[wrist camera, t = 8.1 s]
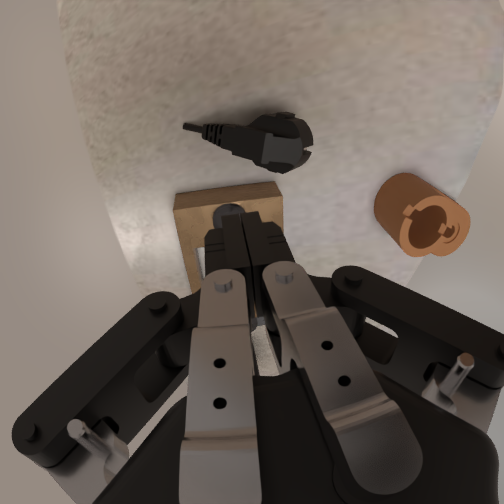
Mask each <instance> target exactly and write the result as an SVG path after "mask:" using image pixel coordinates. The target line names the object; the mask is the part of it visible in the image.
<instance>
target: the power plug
mask: <svg viewBox="0 0 504 504" xmlns="http://www.w3.org/2000/svg"><path fill="white" fill-rule="evenodd" d="M294 117H295V114H293V113H289V112H279V113H275V114H264V115H262V116H260V117H258V118H257V119H255V120H254V121H253V122H252V123H251V124H249V125H248V126H241V125H235V124H204V125H203V127H202V126H197V125H192V124H187V123H185V124H184V125H183V129H185V130H189V131H193V132H198V133H202V138H203V139H204V140H208V141H209V142H212V143H213V144H216V145H217V146H219V147H221V148H223V149H226V150H230V151H232V154H233V155H236V156H239V157H242V158H246V159H249V160H252V161H253V162H254V164H255V165H256V166H260V167H263V168H266V169H267V170H268V171H272V172H275V173H277V172H278V173H281V174H284V173H287V172H289V171H291V170H293V169H295V168H297V167H300V166H301V165H303V164H304V163H305V162H306V161H307V160H308V159H309V157H310V155H311V153H312V152H310V151H307V147H309V146H312V145H313V136H312V132H311V130H310V128H309V126H308V125H307V123H306V122H305V121H304V120H302V119H298V118H294Z"/></svg>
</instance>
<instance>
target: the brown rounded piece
mask: <svg viewBox="0 0 504 504" xmlns="http://www.w3.org/2000/svg"><path fill="white" fill-rule="evenodd" d="M374 214H375V217H376V219H377V221H378V222H379V223H380V225H381V226H382V227H383V228H384V229H385V230H386V231H387V232H388V234H389V235H390V236H391V237H392V238H393V239H394V240H395V242H396V243H397V244H398V245H399V246H400V247H401V249H402V250H403V251H404V252H405V253H406V254H407V255H409V256H412V257H421V256H425V255H427V254H429V253H432V254H434V255H436V256H446V255H448V254H450V253H452V252H454V251H455V250H456V249H457V248H458V247H459V246H460V245H461V244H462V243H463V241H464V240H465V238H466V236H467V234H468V232H469V228H470V216H469V214H468V212H467V211H466V210H465V209H464V208H463V207H461V206H460V205H459V204H458V203H456V202H455V201H454V200H452V199H451V198H449V197H448V196H446V195H445V194H443V193H442V192H440V191H439V190H437V189H436V188H434V187H433V186H431V185H430V184H428V183H427V182H425V181H423V180H422V179H420V178H419V177H417V176H415V175H413V174H411V173H401V174H397V175H395V176H393V177H391V178H390V179H388V180H387V181H386V182H385V183H384V184H383V185H382V187H381V188H380V190H379V192H378V193H377V196H376V198H375V202H374Z"/></svg>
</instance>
